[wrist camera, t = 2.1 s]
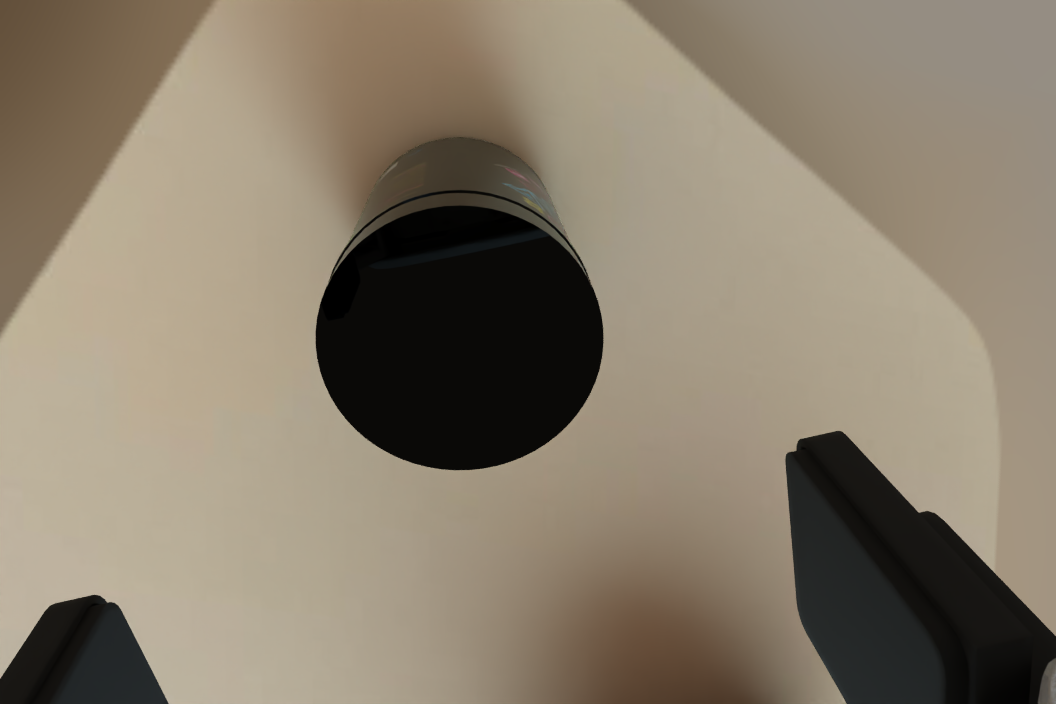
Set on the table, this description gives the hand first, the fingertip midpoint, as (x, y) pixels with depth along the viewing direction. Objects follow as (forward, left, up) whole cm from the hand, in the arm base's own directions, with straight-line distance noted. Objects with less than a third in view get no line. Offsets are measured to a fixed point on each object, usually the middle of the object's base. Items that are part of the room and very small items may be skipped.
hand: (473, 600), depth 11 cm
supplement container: (0, 0, -19) cm, 19 cm away
